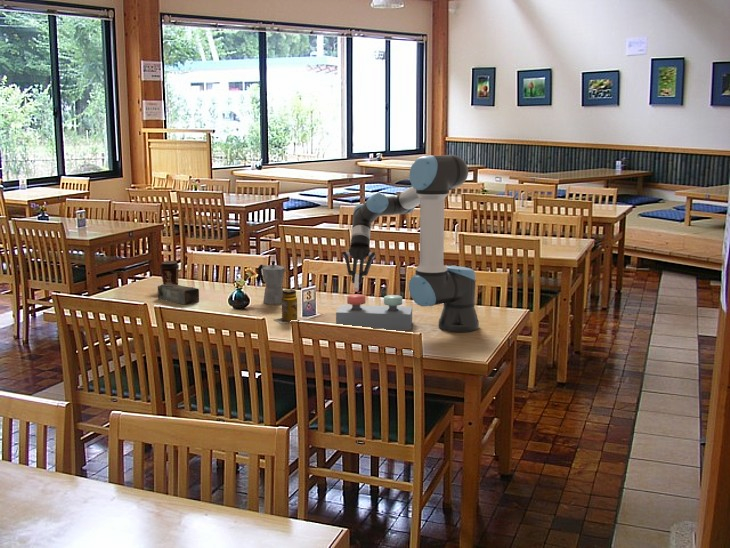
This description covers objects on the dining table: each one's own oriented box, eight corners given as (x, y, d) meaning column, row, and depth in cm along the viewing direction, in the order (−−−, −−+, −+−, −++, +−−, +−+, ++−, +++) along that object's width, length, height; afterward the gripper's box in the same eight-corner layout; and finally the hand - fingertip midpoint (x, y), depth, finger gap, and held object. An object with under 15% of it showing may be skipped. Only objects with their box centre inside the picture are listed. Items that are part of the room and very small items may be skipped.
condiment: (301, 321, 319) (301, 290, 317) (282, 324, 315) (281, 293, 312) (292, 317, 325) (292, 287, 323) (273, 320, 321) (272, 290, 318)
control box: (412, 321, 317) (412, 306, 316) (410, 329, 306) (410, 314, 305) (340, 319, 320) (340, 304, 319) (336, 327, 309) (336, 312, 308)
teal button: (402, 315, 315) (402, 295, 313) (401, 320, 308) (401, 299, 306) (384, 315, 316) (384, 294, 314) (383, 319, 309) (383, 299, 307)
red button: (366, 314, 316) (366, 294, 315) (364, 319, 309) (364, 298, 308) (348, 314, 317) (348, 294, 315) (346, 318, 310) (346, 298, 309)
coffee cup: (161, 288, 377) (160, 260, 374) (180, 287, 378) (179, 260, 376) (160, 292, 368) (159, 264, 366) (179, 291, 370) (178, 263, 367)
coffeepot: (293, 302, 350) (292, 260, 346) (278, 306, 342) (277, 264, 339) (266, 297, 359) (265, 257, 355) (251, 301, 351) (250, 260, 348)
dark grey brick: (172, 296, 362) (171, 281, 361) (200, 302, 351) (199, 287, 349) (157, 299, 356) (156, 284, 355) (185, 306, 345) (185, 290, 343)
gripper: (377, 245, 327) (373, 295, 314) (344, 244, 328) (340, 294, 315) (376, 234, 321) (372, 284, 308) (343, 233, 322) (338, 284, 309)
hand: (356, 289), depth 312 cm, fingers closed
